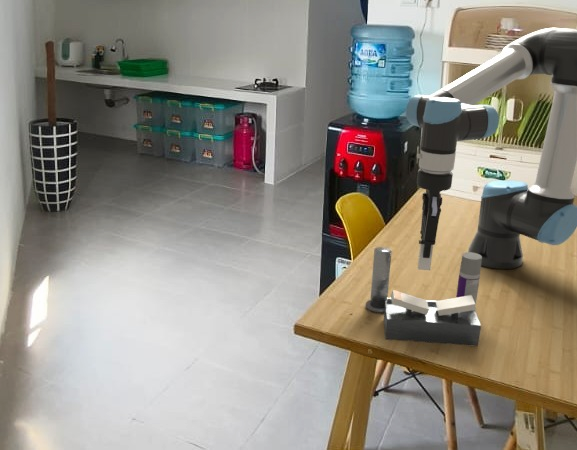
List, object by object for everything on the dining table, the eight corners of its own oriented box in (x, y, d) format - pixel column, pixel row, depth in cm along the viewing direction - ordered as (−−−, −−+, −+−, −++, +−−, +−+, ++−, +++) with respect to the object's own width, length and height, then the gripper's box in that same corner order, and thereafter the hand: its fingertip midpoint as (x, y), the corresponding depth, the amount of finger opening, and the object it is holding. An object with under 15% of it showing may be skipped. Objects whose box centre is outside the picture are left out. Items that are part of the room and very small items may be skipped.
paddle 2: (472, 300, 142) (471, 295, 142) (476, 309, 138) (475, 304, 138) (436, 306, 144) (435, 301, 143) (438, 315, 140) (437, 310, 139)
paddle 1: (424, 305, 144) (426, 300, 143) (426, 314, 140) (429, 309, 139) (390, 295, 144) (393, 289, 143) (392, 304, 140) (394, 298, 139)
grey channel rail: (470, 325, 147) (474, 301, 145) (478, 345, 139) (481, 320, 136) (383, 319, 149) (385, 295, 146) (385, 339, 140) (387, 314, 138)
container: (451, 309, 155) (458, 252, 150) (470, 308, 155) (478, 251, 150) (457, 318, 150) (465, 259, 145) (477, 318, 151) (485, 259, 146)
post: (389, 303, 157) (395, 246, 152) (391, 314, 151) (396, 256, 146) (365, 301, 157) (369, 244, 152) (365, 312, 152) (370, 254, 147)
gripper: (415, 161, 146) (405, 256, 154) (420, 176, 134) (409, 278, 142) (449, 163, 146) (437, 259, 153) (457, 178, 133) (443, 281, 141)
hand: (423, 268), depth 148 cm, fingers closed
